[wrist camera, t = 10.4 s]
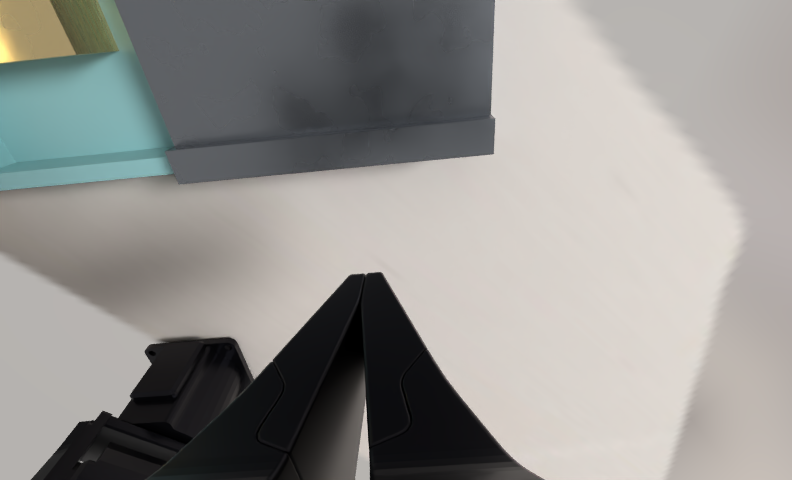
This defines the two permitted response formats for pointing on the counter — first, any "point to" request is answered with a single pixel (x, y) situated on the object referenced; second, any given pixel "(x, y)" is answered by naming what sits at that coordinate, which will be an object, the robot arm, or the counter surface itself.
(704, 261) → the counter surface
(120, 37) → the tray
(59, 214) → the counter surface
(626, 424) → the counter surface
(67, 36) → the tan square block
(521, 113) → the counter surface
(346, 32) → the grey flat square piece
